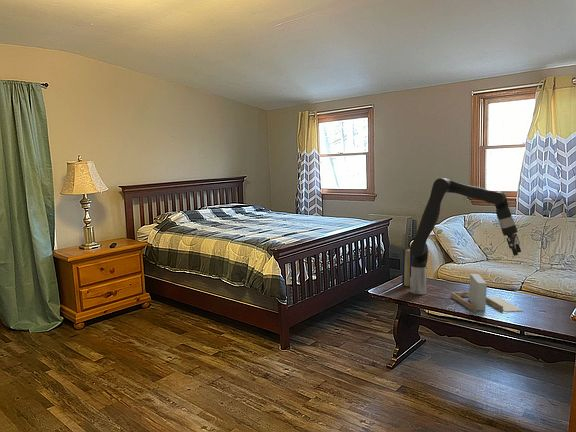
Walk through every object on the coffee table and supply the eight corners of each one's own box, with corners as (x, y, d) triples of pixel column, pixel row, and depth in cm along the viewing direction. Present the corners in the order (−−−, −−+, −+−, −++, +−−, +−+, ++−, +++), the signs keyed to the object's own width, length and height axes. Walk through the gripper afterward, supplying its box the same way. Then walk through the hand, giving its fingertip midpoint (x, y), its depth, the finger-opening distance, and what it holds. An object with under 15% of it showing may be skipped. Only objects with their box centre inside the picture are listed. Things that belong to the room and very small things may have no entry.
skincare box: (486, 311, 242) (487, 283, 240) (475, 310, 243) (476, 282, 241) (477, 299, 262) (478, 273, 260) (468, 299, 263) (468, 273, 261)
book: (417, 279, 309) (418, 244, 305) (427, 281, 304) (427, 245, 300) (401, 286, 294) (401, 249, 290) (411, 288, 288) (411, 250, 285)
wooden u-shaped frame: (474, 313, 239) (475, 307, 239) (451, 297, 268) (451, 292, 267) (502, 311, 240) (503, 306, 240) (476, 295, 269) (476, 291, 268)
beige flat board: (505, 312, 239) (505, 311, 239) (482, 298, 263) (482, 297, 263) (523, 311, 240) (523, 310, 240) (498, 297, 264) (498, 297, 264)
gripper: (503, 225, 251) (513, 252, 250) (497, 229, 240) (507, 257, 239) (517, 222, 247) (527, 249, 245) (512, 225, 235) (522, 254, 234)
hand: (517, 253), depth 242 cm, fingers open, 8 cm apart
